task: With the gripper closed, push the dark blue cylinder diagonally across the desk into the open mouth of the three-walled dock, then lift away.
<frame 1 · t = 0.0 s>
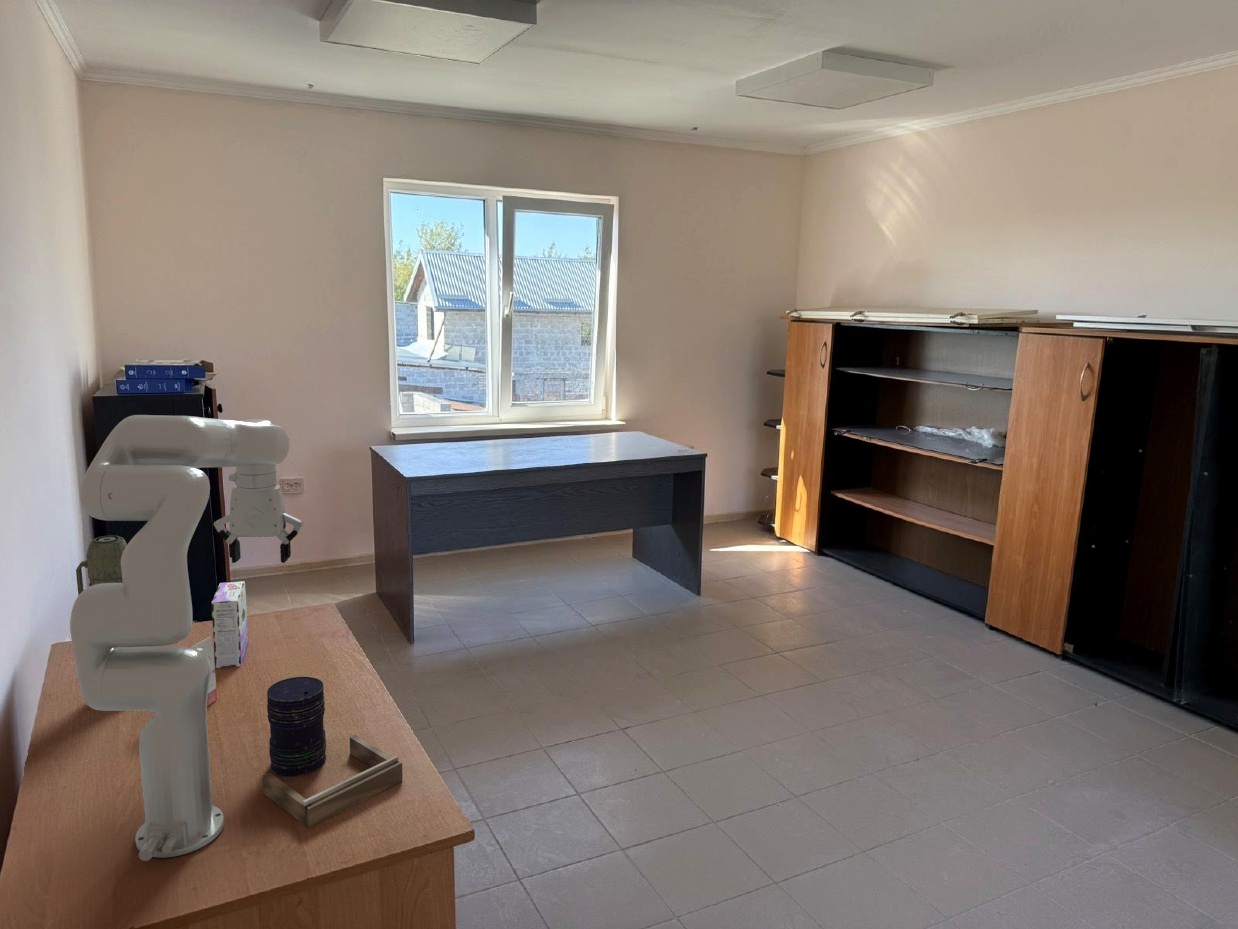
hand: (260, 560, 170), 31 cm above the table, fingers open, 9 cm apart
dock: (333, 786, 146), on the table
dark blue cylinder: (298, 763, 153), on the table
ink cartridge box: (193, 709, 171), on the table
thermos: (121, 697, 175), on the table
candy box: (232, 656, 196), on the table
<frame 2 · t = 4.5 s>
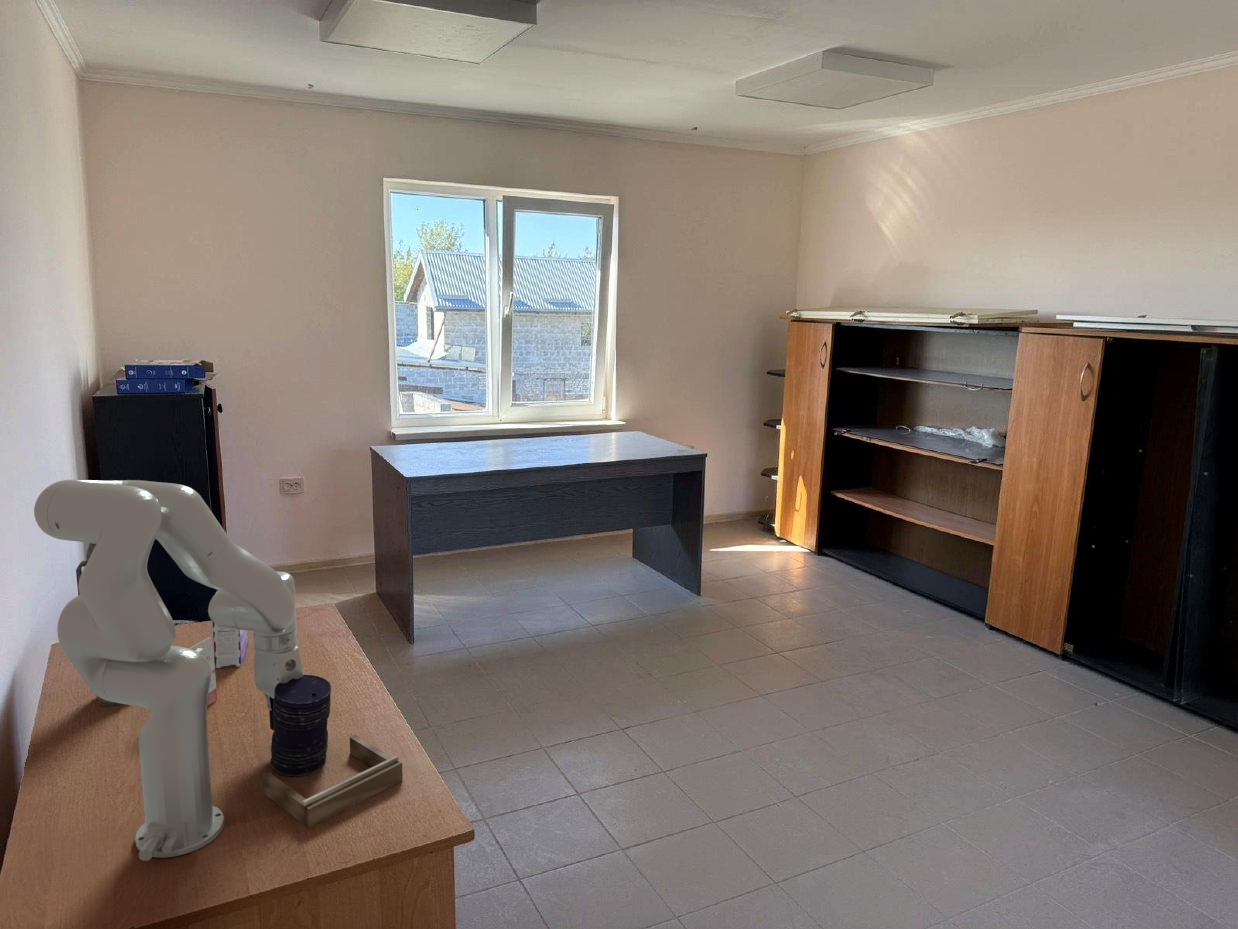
hand: (280, 727, 156), 4 cm above the table, fingers closed
dark blue cylinder: (298, 760, 153), on the table, touching gripper
everything else where it was.
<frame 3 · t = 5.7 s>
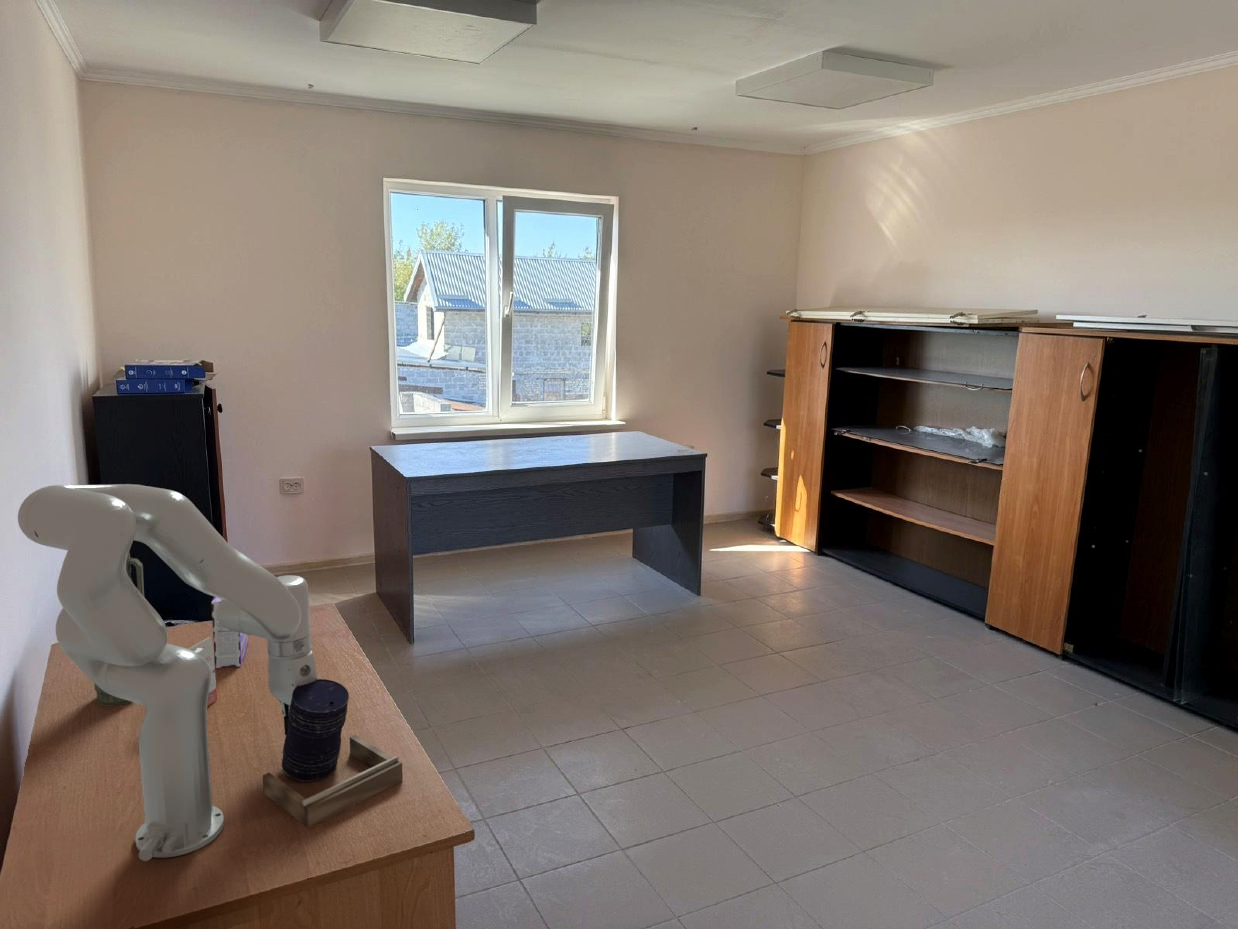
hand: (295, 733, 154), 5 cm above the table, fingers closed
dark blue cylinder: (309, 764, 151), point 1 cm above the table, touching gripper
everything else where it was.
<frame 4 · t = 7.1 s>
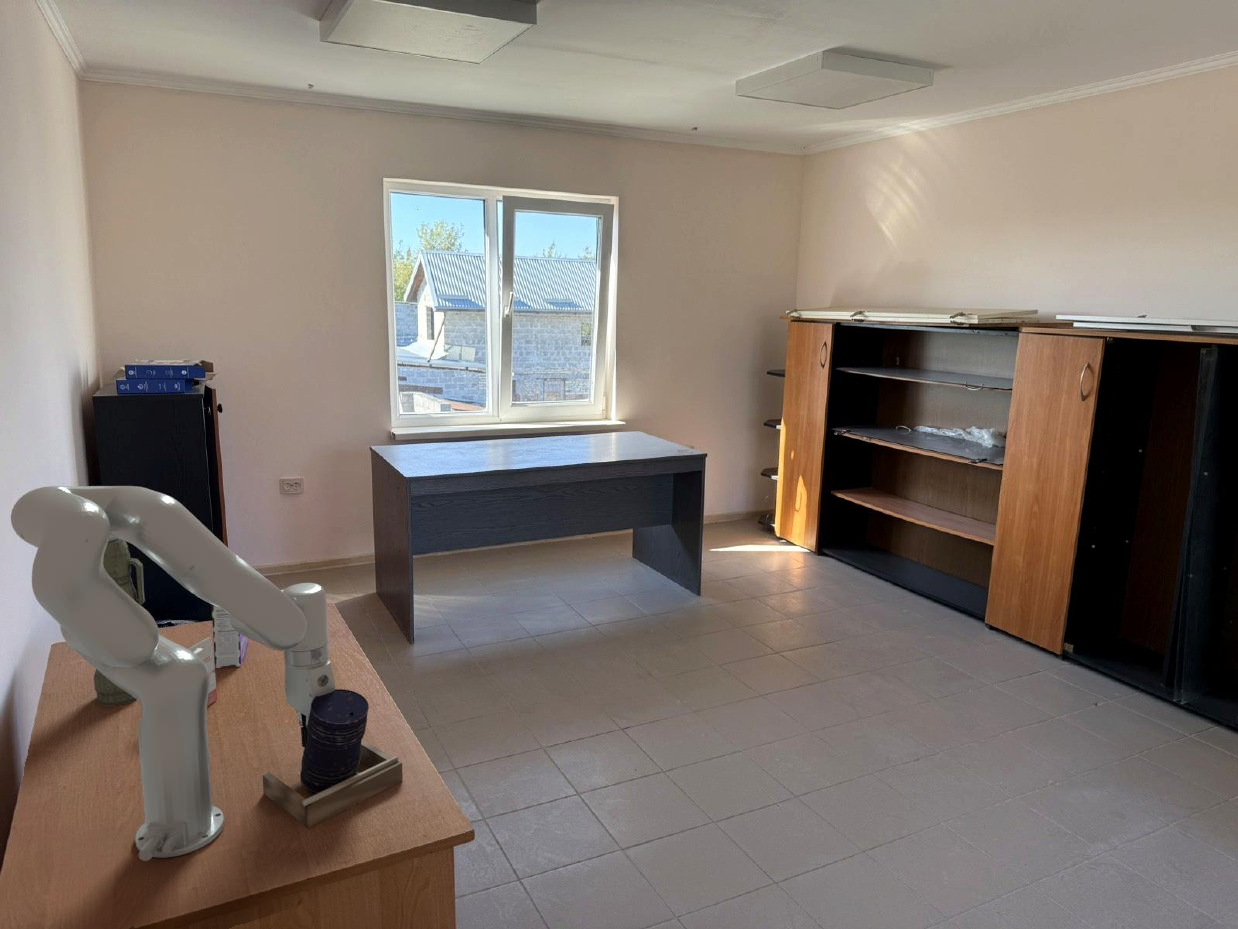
hand: (312, 745, 150), 5 cm above the table, fingers closed
dark blue cylinder: (328, 776, 147), point 1 cm above the table, touching gripper
everything else where it was.
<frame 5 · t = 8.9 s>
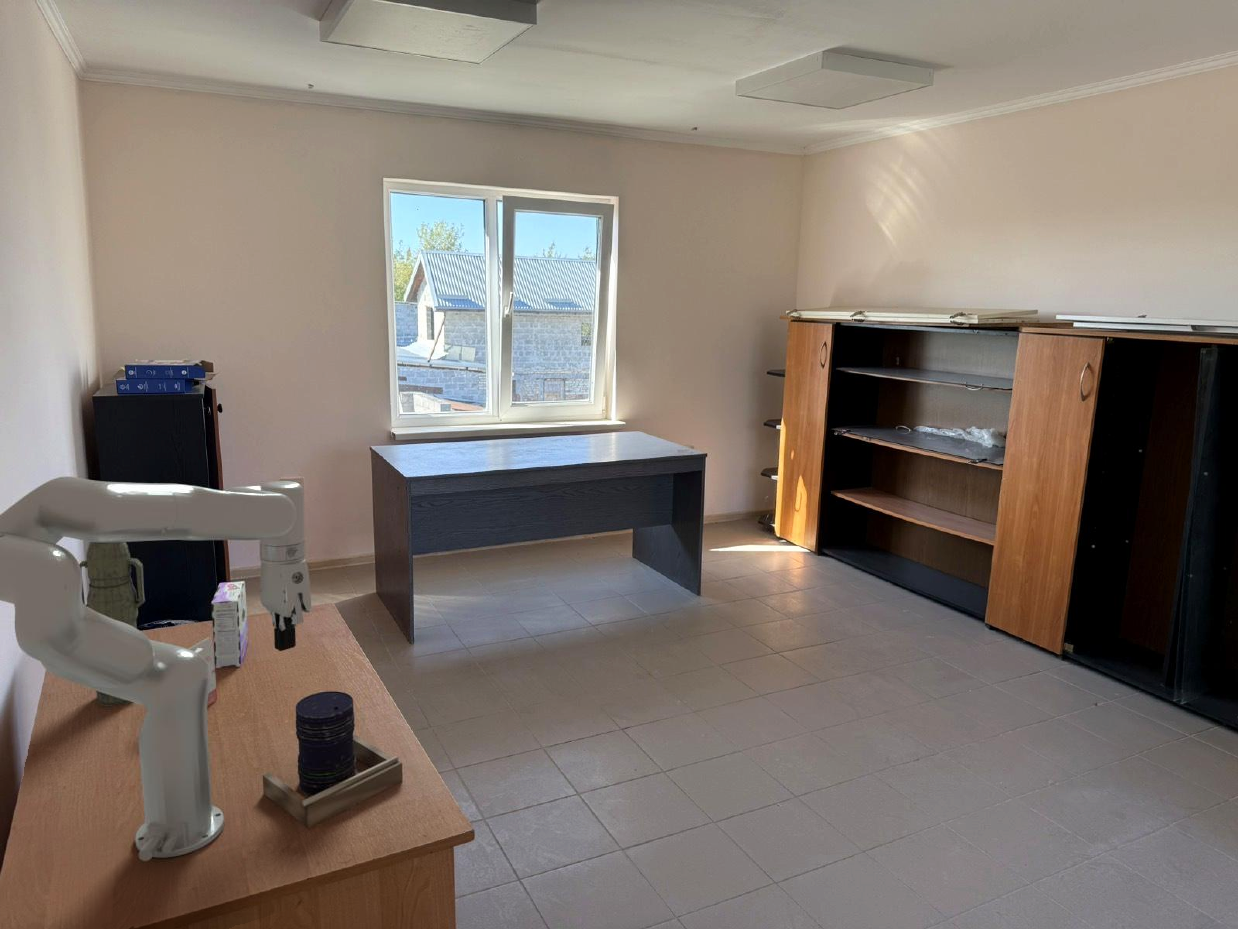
hand: (285, 647, 149), 22 cm above the table, fingers closed
dark blue cylinder: (327, 781, 147), on the table
everything else where it was.
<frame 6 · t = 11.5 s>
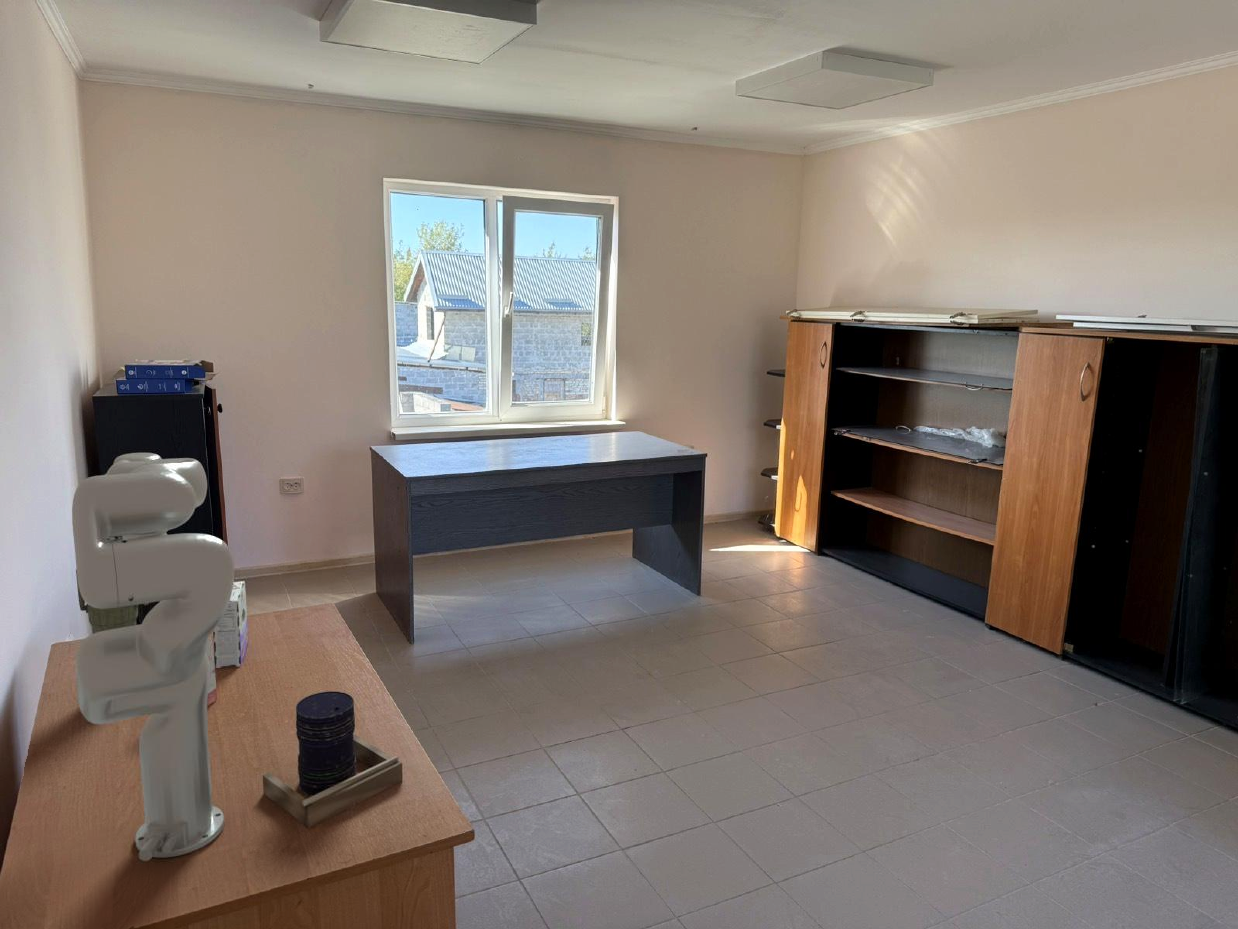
hand: (151, 622, 147), 27 cm above the table, fingers closed
nothing on the table moved.
at the end: dark blue cylinder 2.2 cm from the dock (horizontally); dark blue cylinder tilted 0° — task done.
